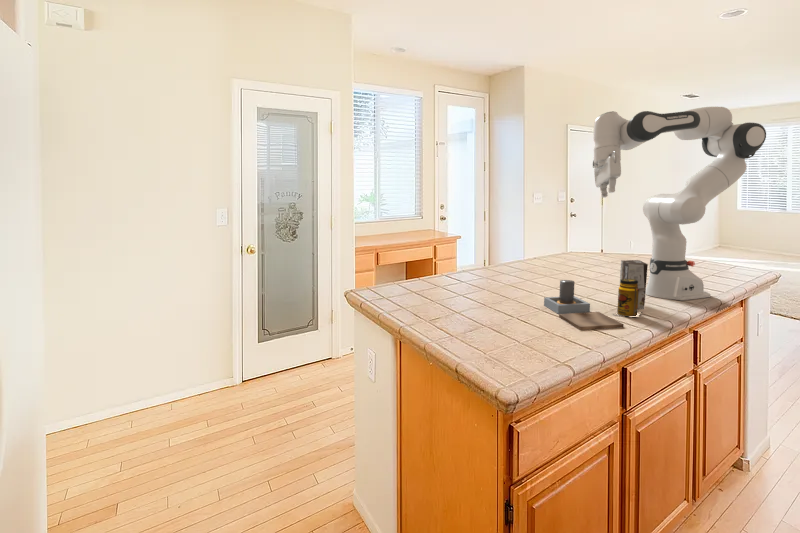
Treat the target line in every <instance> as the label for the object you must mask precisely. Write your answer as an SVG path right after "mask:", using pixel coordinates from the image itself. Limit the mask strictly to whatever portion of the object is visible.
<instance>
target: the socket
mask: <svg viewBox="0 0 800 533" xmlns="http://www.w3.org/2000/svg"><path fill="white" fill-rule="evenodd" d="M557 301H559V296H550V297H549V296H548V297H544V299H543V306H544V307H546V308H548V309H550V310H551V311H552V312H554V313H556V314H557V315H559V314H569V313H587V312H591V303H590V302H588V301H585V300H583V299H581V298H579V297H577V296H575V295H574V302H576V304H558V303H557Z"/></svg>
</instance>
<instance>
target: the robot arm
mask: <svg viewBox="0 0 800 533" xmlns="http://www.w3.org/2000/svg"><path fill="white" fill-rule="evenodd" d="M732 121H733V114H732V112H731V110H730V109H729V108H727V107H725V106H704V107H698V108H692V109H688V110H684V111H677V112H676V111H675V112H668V113H667V112H666V113H658V112H655V111H648V110H645V111H644V110H642V111H640V112H638V113H636V114H635V115H634V116H633V117H632V118H631V119H629V120H628V119H626V118H623V116H621V115H620V114H619V113H618V112H617V111H607V112H604V113H602V114H600V115H598V116H597V118H596V119H595V120H594V124H593V141H594V147H593V148H594V149H593V160H592V168H593V169H594V170H593V172H594V183H595V186H596V188H599V189H600V194H601V198H608V196H609V194H612V193H615V192H616V184H617V179H618V178H619V177H621V175H622V164H621V160H622V157H621V156H622V155H621V150H622V151H629V150H633V149H635V148H637V147H638V146H640V145H642V144H644V143H646V142H648V141H651V140H653V139H655V138H656V137H658V136H659V135H661V134H665V133H672V132H673V133H674V135H675V136H676V138H678V139H679V140H682V141H694V140H702V141H701V146H702V151H703V152H704V153H705V155H707V156H709V157H712V158H713V157H714V160H713V161H712V162H711V163H710V164H708V165H707V166H705V167H704V168H702V169H700V170H698V172H696V173H695V174H693V175H692V176H691V177H689V178H688V179H687V180H686V181H685V182H686V183H685V187H684V188H683V189H682V190H681V191H678V192H676V193H659V194H655V195H652V196H650V197H647V199H646V200H645V201H644V203H643V205H642V212H643V214H644V216H645V217H646V219H647V220H648V222H649V227H650V230H651V237H652V247H651V248H652V249H651V258H650V259H649V275H648V279H647V280H648V282H647V283H646V292H645V295H647V296H651V297H654V298H659V299H667V300H677V301H689V300H697V299H704V298H710V297H711V295H712V294H711V293H710V292H708V291H705V287H704V281H703V279H701V277H699V276H697V275H696V274H695V273H694V272H692V271H691V270H690V268H689V267H692V268H693V267H694V266H695V265H696V262H695V261H693V260H687V259H686V252H687V242H688V241H687V238H686V236H685V235H684V234H683V232H682V231H681V227H680V225H689V224H695V223H698V222H699V221H701V219H702V218H704V215H705V214H706V210H707V209H706V206H707V205H708V204H709V202H711V201H712V200H713V199H714V198H716V197H717V196H718V195H720V194H722V193H723V192H725V191H726V190H727V189H729V188H731V186H733V185H734V184H735V183H736V182H737V181H738V180H739V179H740V178H742V176H743V175H744V174H745V173H746V171H747V163H746V159H747V160H748V159H750V158H753V156H755V155H756V153H757V151H759V149H761V147H762V146H763V145H764V144H765V141H766V138H767V130H766V129H765V127H764V126H763V125H762V124H761V123H757V122H745V123H737V124H734V123H733V122H732ZM608 193H609V194H608Z"/></svg>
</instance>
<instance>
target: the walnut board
mask: <svg viewBox="0 0 800 533" xmlns="http://www.w3.org/2000/svg"><path fill="white" fill-rule="evenodd" d="M558 317H559V318H560V319H561V320H562V321H564V322H566V323H568V324H570V325H571V326H573V327H574V328H576V329H578V330H579V331H585V330H586V331H587V330H588V331H589V330H600V329H601V330H602V329H603V330H604V328H606V329H618V328H617V327H622V328H624V326H625V325H624V323H622V322H620V321H618V320H616V319H614V318H612V317H610V316H608V315H606V314H604V313H602V312H600V311H590V312H585V313H567V314H558Z"/></svg>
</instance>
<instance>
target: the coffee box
mask: <svg viewBox="0 0 800 533" xmlns="http://www.w3.org/2000/svg"><path fill="white" fill-rule="evenodd" d="M648 266H649V264H648V263H646V262H643V261H642V260H638V259H633V260H631V259H627V260H620V275H619V276H620V277H619V282H620V281H621V279H635V280H638V289H639V295H638V310H644V309H645V303H646V294H645V292H646V287H647V280H648V279H647V277H648Z"/></svg>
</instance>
